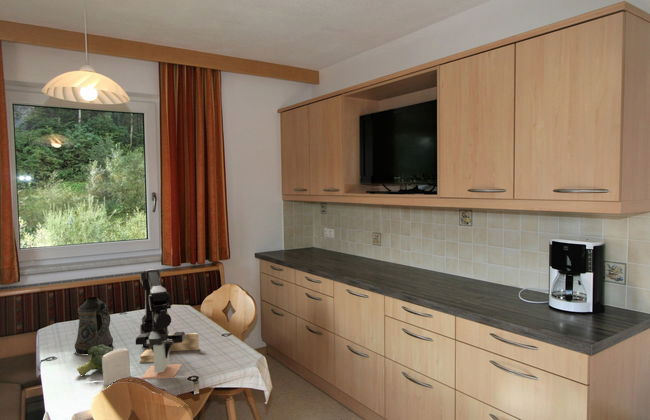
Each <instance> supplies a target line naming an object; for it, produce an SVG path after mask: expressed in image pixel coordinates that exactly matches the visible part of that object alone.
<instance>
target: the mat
mask: <svg viewBox="0 0 650 420" xmlns="http://www.w3.org/2000/svg"><path fill="white" fill-rule="evenodd" d="M182 365H183V363H177V364H176V363H175V364H174V363H172V364H169V365H168V366H167V368H166V369H165V371H164V372H157V373H155V371H154V364H153V365H150V367H148V368H147V370H146V371H145V372H144V374H143V375H142V376H141V380H151V379H165V378H169V379H170V378H175V377H176V374H177V373H178V371H179V369H180V368H181V366H182Z"/></svg>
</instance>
